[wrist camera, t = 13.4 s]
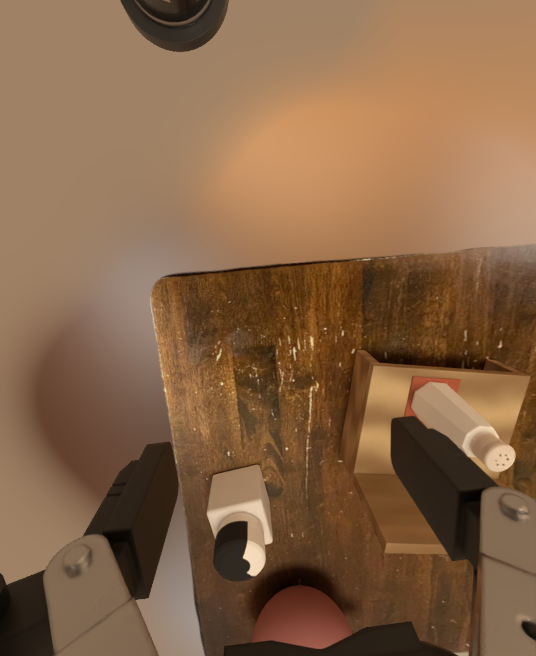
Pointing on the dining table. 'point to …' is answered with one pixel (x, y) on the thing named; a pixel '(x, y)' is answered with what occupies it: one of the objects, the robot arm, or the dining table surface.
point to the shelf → (395, 401)
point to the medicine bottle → (239, 522)
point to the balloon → (301, 619)
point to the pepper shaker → (461, 425)
